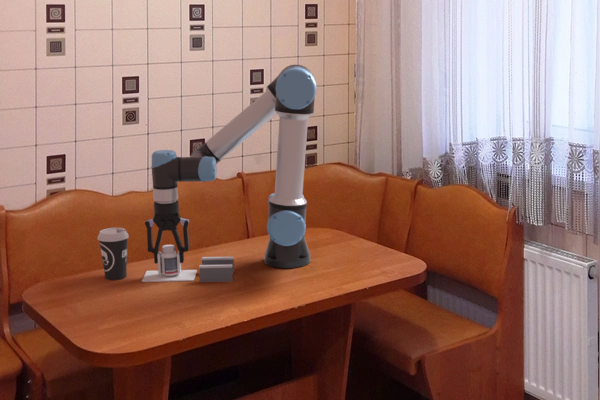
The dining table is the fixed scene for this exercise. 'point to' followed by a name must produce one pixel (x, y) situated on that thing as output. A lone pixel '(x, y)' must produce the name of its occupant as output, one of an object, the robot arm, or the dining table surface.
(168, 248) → the pill bottle
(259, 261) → the dining table surface
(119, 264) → the coffee cup
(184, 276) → the mat
